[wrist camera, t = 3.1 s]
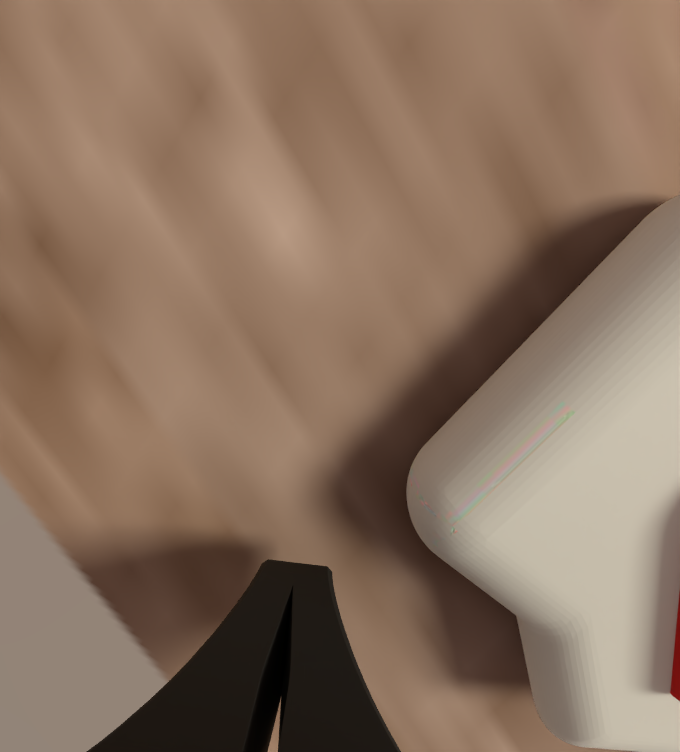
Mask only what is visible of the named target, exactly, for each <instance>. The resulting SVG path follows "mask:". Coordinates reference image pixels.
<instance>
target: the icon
mask: <svg viewBox="0 0 680 752" xmlns="http://www.w3.org/2000/svg"><path fill="white" fill-rule="evenodd" d="M406 494H407V505H408V510H409V514H410V518H411V521H412V523H413V526H414V528H415V530H416V532H417V533H418V535H419V537H420V538H421V540H422V541H423V542H424V543H425V545H426V546H427V547H428V548H429V549H430V550H431V551H432V552H433V553H434V554H436V555H437V556H438V557H439V558H441V559H442V560H443V561H445V562H446V563H447V564H449V565H450V566H451V567H453V568H454V569H455V570H457V571H458V572H459V573H460V574H462V575H463V576H464V577H466V578H467V579H468V580H470V581H471V582H472V583H474V584H475V585H476V586H478V587H479V588H480V589H482V590H483V591H484V592H486V593H487V594H488V595H490V596H491V597H492V598H494V599H495V600H496V601H498V602H499V603H500V604H502V605H503V606H504V607H506V608H507V609H508V610H510V611H511V612H512V613H514V614H515V615H516V617H517V621H518V626H519V631H520V636H521V641H522V646H523V651H524V656H525V661H526V666H527V671H528V675H529V680H530V685H531V690H532V695H533V700H534V703H535V707H536V709H537V712H538V714H539V716H540V718H541V720H542V722H543V723H544V725H545V726H546V727H547V729H548V730H549V731H550V732H551V733H553V734H554V735H555V736H556V737H558V738H559V739H561V740H562V741H564V742H566V743H569V744H572V745H575V746H579V747H588V748H600V749H612V750H625V751H637V752H680V195H678V196H676V197H674V198H671V199H670V200H668V201H666V202H664V203H663V204H661V205H660V206H659V207H657V208H656V209H654V210H653V211H652V212H651V213H649V214H648V215H647V216H646V217H645V218H644V219H643V220H642V221H641V222H640V223H639V224H638V225H637V226H636V227H635V228H634V229H633V230H632V231H631V232H630V233H629V235H628V236H627V237H626V238H625V239H624V240H623V241H622V242H621V243H620V244H619V245H618V246H617V247H616V248H615V249H614V250H613V251H612V252H611V253H610V254H609V255H608V256H607V257H606V258H605V259H604V260H603V261H602V262H601V263H600V264H599V265H598V266H597V267H596V269H595V270H594V271H593V272H592V273H591V274H590V275H589V276H588V277H587V278H586V279H585V280H584V281H583V282H582V283H581V284H580V285H579V286H578V287H577V288H576V289H575V290H574V291H573V292H572V293H571V294H570V295H569V296H568V297H567V298H566V299H565V300H564V302H563V303H562V304H561V305H560V306H559V307H558V308H557V309H556V310H555V311H554V312H553V313H552V314H551V315H550V316H549V317H548V318H547V319H546V320H545V321H544V322H543V323H542V324H541V325H540V326H539V327H538V328H537V329H536V330H535V331H534V332H533V333H532V335H531V336H530V337H529V338H528V339H527V340H526V341H525V342H524V343H523V344H522V345H521V346H520V347H519V348H518V349H517V350H516V351H515V352H514V353H513V354H512V355H511V356H510V357H509V358H508V359H507V360H506V361H505V362H504V363H503V364H502V365H501V366H500V367H499V369H498V370H497V371H496V372H495V373H494V374H493V375H492V376H491V377H490V378H489V379H488V380H487V381H486V382H485V383H484V384H483V385H482V386H481V387H480V388H479V389H478V390H477V391H476V392H475V393H474V394H473V395H472V396H471V397H470V398H469V399H468V400H467V402H466V403H465V404H464V405H463V406H462V407H461V408H460V409H459V410H458V411H457V412H456V413H455V414H454V415H453V416H452V417H451V418H450V419H449V420H448V421H447V422H446V423H445V424H444V425H443V426H442V427H441V428H440V429H439V430H438V431H437V432H436V433H435V434H434V436H433V437H432V438H431V439H430V440H429V441H428V442H427V443H426V444H425V445H424V446H423V447H422V448H421V450H420V451H419V453H418V454H417V456H416V457H415V459H414V461H413V463H412V466H411V468H410V471H409V475H408V480H407V489H406Z"/></svg>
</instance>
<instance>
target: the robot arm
mask: <svg viewBox="0 0 680 752" xmlns="http://www.w3.org/2000/svg"><path fill="white" fill-rule="evenodd" d="M281 694H282V695H281ZM280 699H281V711H280V727H279V744H278V752H401V751H400V749H399V748H398V746H397V744H396V742H395V741H394V739H393V737H392V735H391V734H390V732H389V730H388V728H387V726H386V724H385V722H384V720H383V719H382V717H381V715H380V713H379V711H378V709H377V707H376V705H375V703H374V701H373V699H372V697H371V694H370V692H369V690H368V688H367V686H366V683H365V681H364V679H363V676H362V674H361V672H360V669H359V667H358V665H357V662H356V660H355V657H354V654H353V652H352V649H351V646H350V643H349V640H348V638H347V635H346V632H345V629H344V626H343V623H342V619H341V616H340V613H339V609H338V605H337V601H336V597H335V592H334V587H333V579H332V571H331V570H330V569H329V568H328V567H327V566H318V565H310V564H301V563H293V562H285V561H276V560H267V561H265V562H264V563H262V565H261V567H260V569H259V570H258V572H257V574H256V576H255V577H254V579H253V580H252V582H251V584H250V585H249V587H248V588H247V590H246V591H245V592H244V594H243V595H242V597H241V598H240V600H239V601H238V602H237V604H236V605H235V606H234V608H233V609H232V610H231V612H230V613H229V614H228V615H227V617H226V618H225V619H224V621H223V622H222V623H221V624H220V626H219V627H218V628H217V629H216V631H215V632H214V633H213V634H212V635H211V637H210V638H209V639H208V640H207V641H206V642H205V643H204V644H203V646H202V647H201V648H200V649H199V650H198V651H197V652H196V654H195V655H194V656H193V657H192V658H191V659H190V660H189V661H188V662H187V663H186V665H185V666H184V667H183V668H182V669H181V670H180V671H179V672H178V673H177V674H176V675H175V676H174V677H173V678H172V679H171V680H170V681H169V682H168V683H167V684H166V685H165V686H164V687H163V688H162V689H161V690H159V691H158V693H156V694H155V695H154V696H153V697H152V698H151V699H150V700H149V701H148V702H147V703H145V704H144V705H143V706H142V707H141V708H140V709H139V710H137V711H136V712H135V713H134V714H133V715H132V716H131V717H130V718H128V719H127V720H126V721H125V722H124V723H123V724H121V725H120V726H119V727H118V728H117V729H115V730H114V731H113V732H112V733H110V734H109V735H108V736H107V737H105V738H104V739H103V740H102V741H100V742H99V743H98V744H97V745H95V746H94V747H92V748H91V749H90V750H88V751H87V752H267V751H268V747H269V743H270V739H271V735H272V731H273V727H274V723H275V719H276V715H277V711H278V707H279V703H280Z"/></svg>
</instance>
